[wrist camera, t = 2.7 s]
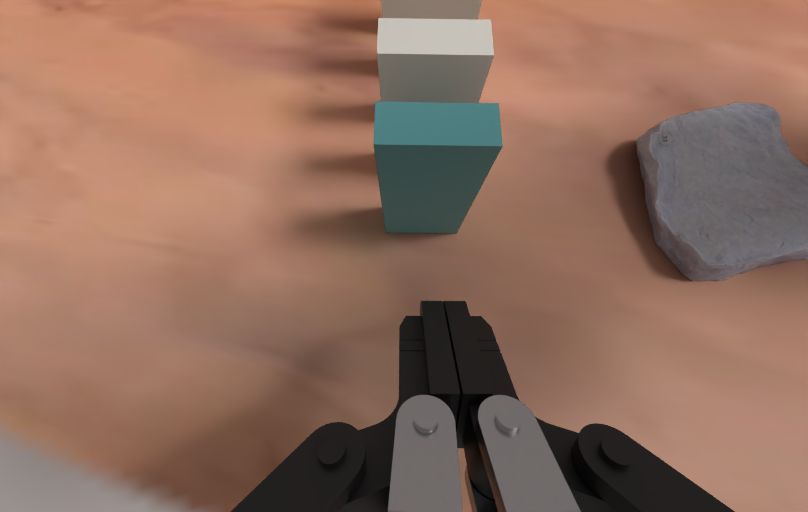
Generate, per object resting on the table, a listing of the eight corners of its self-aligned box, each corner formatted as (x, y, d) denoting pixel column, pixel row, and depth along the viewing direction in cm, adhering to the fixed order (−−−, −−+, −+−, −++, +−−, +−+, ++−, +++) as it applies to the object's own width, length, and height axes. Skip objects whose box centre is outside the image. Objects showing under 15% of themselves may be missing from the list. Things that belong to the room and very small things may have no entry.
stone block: (658, 296, 22) (809, 259, 21) (708, 286, 18) (904, 238, 17) (592, 161, 26) (718, 123, 25) (619, 124, 21) (776, 74, 20)
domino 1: (388, 103, 24) (381, -53, 15) (451, 104, 24) (484, -51, 15) (388, 124, 24) (380, -23, 14) (452, 125, 24) (487, -21, 14)
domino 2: (387, 152, 23) (378, 17, 13) (453, 153, 23) (490, 19, 13) (387, 175, 23) (377, 53, 13) (454, 176, 23) (494, 55, 13)
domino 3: (386, 206, 22) (375, 101, 12) (455, 207, 22) (498, 103, 12) (385, 232, 21) (373, 144, 12) (456, 233, 21) (502, 146, 12)
